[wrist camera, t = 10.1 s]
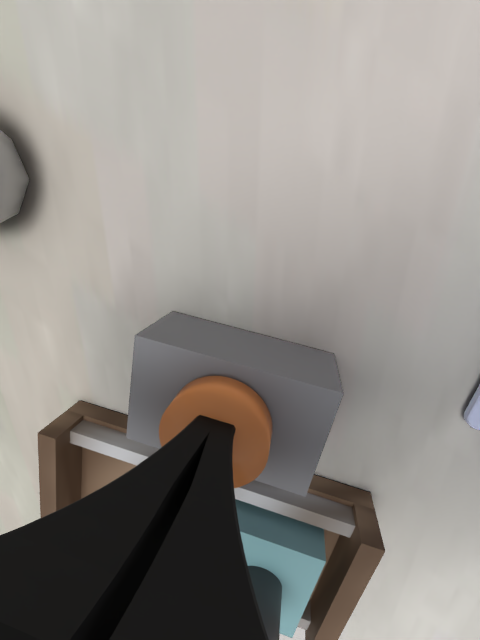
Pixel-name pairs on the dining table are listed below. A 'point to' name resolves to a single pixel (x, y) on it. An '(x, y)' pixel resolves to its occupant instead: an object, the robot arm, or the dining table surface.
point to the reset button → (225, 420)
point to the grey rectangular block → (249, 368)
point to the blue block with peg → (280, 564)
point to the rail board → (316, 508)
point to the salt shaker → (11, 179)
